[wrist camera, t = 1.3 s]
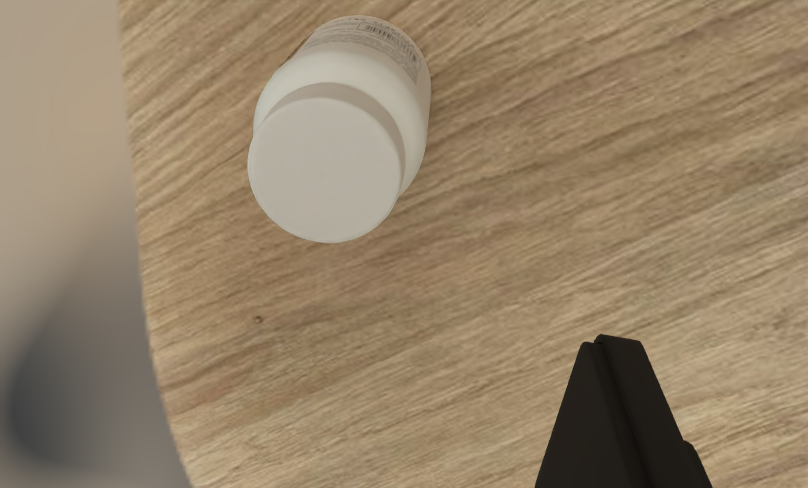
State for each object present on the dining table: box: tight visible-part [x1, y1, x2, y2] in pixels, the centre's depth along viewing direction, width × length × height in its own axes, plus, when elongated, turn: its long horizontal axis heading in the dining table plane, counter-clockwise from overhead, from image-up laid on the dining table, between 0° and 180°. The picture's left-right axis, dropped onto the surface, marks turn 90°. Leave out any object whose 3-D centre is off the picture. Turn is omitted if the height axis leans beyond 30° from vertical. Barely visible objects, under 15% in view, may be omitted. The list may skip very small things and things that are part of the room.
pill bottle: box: [247, 15, 431, 243], centre depth 20 cm, size 4×4×8 cm
